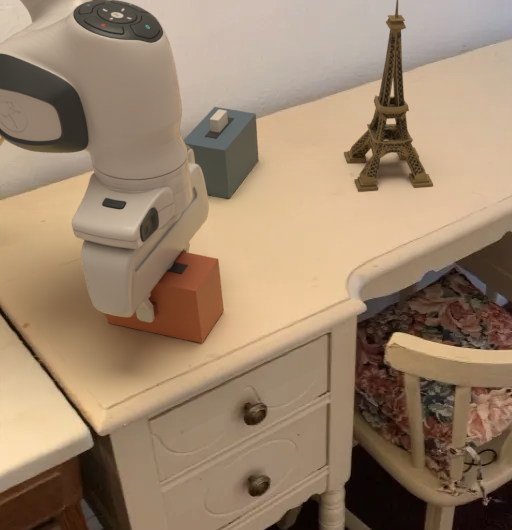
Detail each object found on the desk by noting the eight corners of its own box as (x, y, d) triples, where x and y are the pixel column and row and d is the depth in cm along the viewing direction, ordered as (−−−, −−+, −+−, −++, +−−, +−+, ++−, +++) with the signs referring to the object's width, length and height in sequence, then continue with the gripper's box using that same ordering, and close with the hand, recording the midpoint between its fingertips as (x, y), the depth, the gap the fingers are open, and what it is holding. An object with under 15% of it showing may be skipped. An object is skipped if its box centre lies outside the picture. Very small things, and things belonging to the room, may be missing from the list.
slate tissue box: (229, 199, 110) (223, 137, 104) (187, 191, 111) (179, 129, 105) (258, 160, 118) (255, 100, 112) (219, 153, 119) (213, 93, 113)
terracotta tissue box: (108, 323, 91) (92, 256, 85) (133, 291, 95) (120, 225, 89) (202, 343, 89) (193, 276, 83) (224, 310, 93) (217, 244, 87)
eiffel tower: (414, 149, 123) (429, -33, 105) (433, 186, 115) (452, -4, 98) (343, 153, 121) (347, -32, 103) (358, 191, 113) (364, -2, 96)
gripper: (161, 131, 88) (177, 241, 98) (60, 232, 74) (90, 349, 84) (217, 140, 88) (227, 251, 97) (126, 245, 73) (148, 362, 83)
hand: (163, 297), depth 90 cm, fingers closed on terracotta tissue box, 6 cm apart
